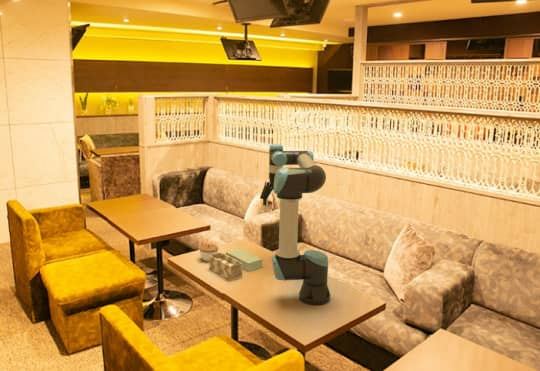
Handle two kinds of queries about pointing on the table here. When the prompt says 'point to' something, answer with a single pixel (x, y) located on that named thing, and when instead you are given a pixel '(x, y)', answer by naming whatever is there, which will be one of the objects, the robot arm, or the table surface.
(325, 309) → the table surface
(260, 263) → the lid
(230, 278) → the napkin box
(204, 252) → the lidded jar
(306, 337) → the table surface
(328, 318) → the table surface
